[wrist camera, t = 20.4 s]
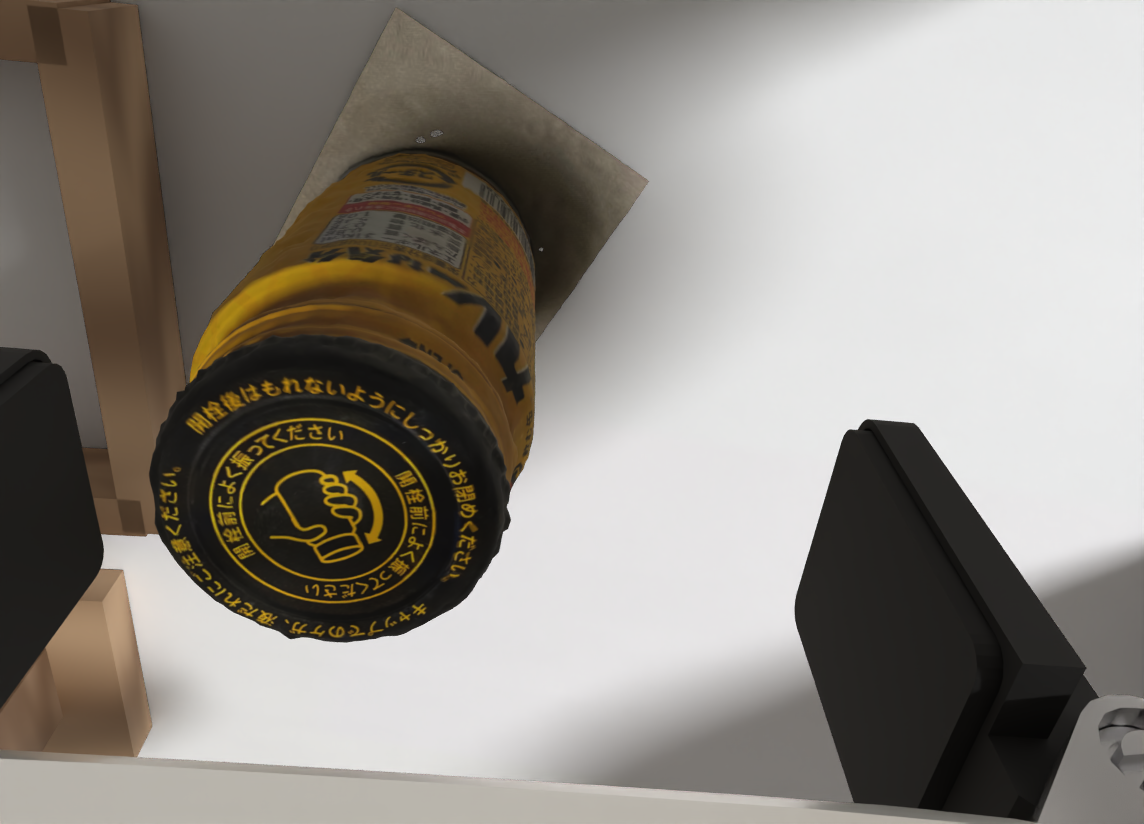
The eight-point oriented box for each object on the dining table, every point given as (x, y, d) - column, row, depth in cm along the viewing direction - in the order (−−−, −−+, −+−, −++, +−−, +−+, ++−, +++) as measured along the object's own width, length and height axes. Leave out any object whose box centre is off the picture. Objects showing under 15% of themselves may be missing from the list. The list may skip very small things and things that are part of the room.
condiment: (247, 294, 23) (10, 577, 13) (397, 6, 20) (247, 62, 9) (480, 420, 25) (443, 754, 15) (647, 178, 22) (754, 380, 12)
